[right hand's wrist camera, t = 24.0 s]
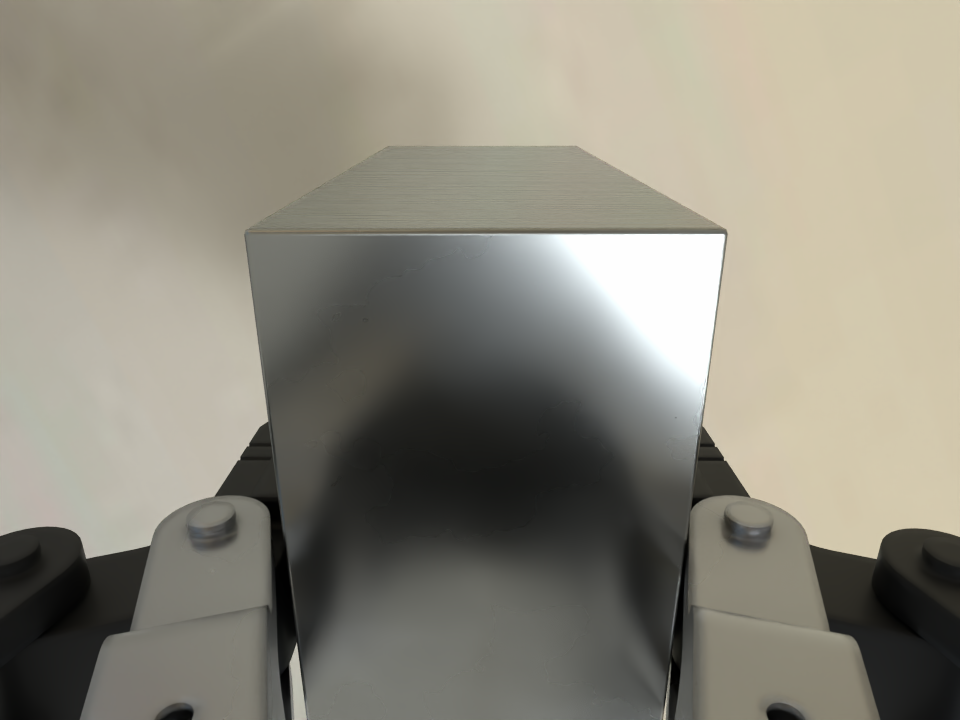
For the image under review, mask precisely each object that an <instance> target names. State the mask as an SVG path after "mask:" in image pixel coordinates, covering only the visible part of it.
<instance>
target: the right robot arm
mask: <svg viewBox="0 0 960 720" xmlns="http://www.w3.org/2000/svg"><path fill="white" fill-rule="evenodd" d="M296 643H297V638H296V630H295V623H294V615H293V607H292V599H291V592H290V584H289V576H288V568H287V561H286V553H285V545H284V537H283V530H282V522H281V514H280V506H279V499H278V491H277V483H276V475H275V468H274V460H273V452H272V444H271V437H270V429H269V421H268V422H267V423H265V424H264V425H262V426H261V427H260V428H259V429H258V431H257V432H256V434H255V435H254V437H253V438H252V440H251V442H250V443H249V447H247V448H246V449H245V451H244V452H243V454H242V455H241V459H240V460H238V461H237V463H236V464H235V466H234V468H233V469H232V471H231V472H230V474H229V475H228V477H227V478H226V480H225V481H224V483H223V484H222V486H221V487H220V489H219V490H218V492H217V494H216V495H215V497H211V498H206V499H202V500H199V501H196V502H193V503H190V504H188V505H186V506H184V507H181V508H179V509H178V510H176V511H174V512H173V513H171V514H170V515H169V516H167V517H166V518H165V519H164V520H163V521H162V522H161V523H160V524H159V525H158V527H157V528H156V529H155V532H154V534H153V538H152V542H151V545H150V546H147V547H143V548H139V549H134V550H129V551H124V552H119V553H114V554H109V555H104V556H99V557H94V558H88V559H86V557H85V553H84V549H83V545H82V542H81V539H80V537H79V536H78V535H77V534H76V533H75V532H73V531H71V530H68V529H65V528H59V527H36V528H30V529H24V530H20V531H16V532H12V533H9V534H6V535H3V536H0V720H294V707H293V688H292V675H291V668H290V660H291V658H292V655H293V652H294V649H295V646H296ZM666 720H960V537H958V536H955V535H951V534H948V533H944V532H940V531H934V530H928V529H901V530H897V531H894V532H891V533H889V534H888V535H886V536H885V537H884V538H883V540H882V543H881V546H880V550H879V553H878V557H877V559H873V558H868V557H862V556H857V555H852V554H847V553H842V552H837V551H832V550H827V549H823V548H819V547H816V546H813V545H810V544H809V542H808V538H807V534H806V532H805V529H804V528H803V527H802V525H801V524H800V523H799V522H798V521H797V520H796V519H795V518H794V517H793V516H791V515H790V514H789V513H787V512H786V511H784V510H782V509H781V508H779V507H776V506H774V505H772V504H770V503H767V502H764V501H761V500H758V499H754V498H750V496H749V495H748V493H747V492H746V490H745V489H744V487H743V486H742V484H741V483H740V481H739V480H738V478H737V476H736V475H735V473H734V472H733V470H732V469H731V467H730V466H729V464H728V463H727V461H724V457H723V455H722V454H721V452H720V451H719V449H718V448H717V447H715V443H714V442H713V440H712V439H711V437H710V436H709V434H708V433H707V431H706V430H705V428H704V427H702V430H701V438H700V445H699V453H698V460H697V468H696V475H695V483H694V490H693V498H692V505H691V513H690V520H689V528H688V535H687V543H686V550H685V558H684V565H683V573H682V580H681V588H680V595H679V603H678V610H677V618H676V625H675V633H674V640H673V648H672V655H671V663H670V670H669V678H668V687H667V706H666Z"/></svg>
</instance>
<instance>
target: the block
mask: <svg viewBox="0 0 960 720" xmlns="http://www.w3.org/2000/svg"><path fill="white" fill-rule="evenodd" d="M244 235H245V243H246V251H247V259H248V266H249V274H250V282H251V290H252V297H253V305H254V313H255V321H256V328H257V336H258V344H259V352H260V359H261V367H262V375H263V383H264V390H265V398H266V406H267V414H268V421H269V429H270V437H271V444H272V452H273V460H274V468H275V475H276V483H277V491H278V499H279V506H280V514H281V522H282V530H283V537H284V545H285V553H286V561H287V568H288V576H289V584H290V592H291V599H292V607H293V615H294V623H295V630H296V638H297V646H298V654H299V661H300V669H301V677H302V685H303V692H304V700H305V708H306V715H307V720H663V715H664V708H665V700H666V693H667V685H668V678H669V670H670V663H671V655H672V648H673V640H674V633H675V625H676V618H677V610H678V603H679V595H680V588H681V580H682V573H683V565H684V558H685V550H686V543H687V535H688V528H689V520H690V513H691V505H692V498H693V490H694V483H695V475H696V468H697V460H698V453H699V445H700V438H701V430H702V423H703V415H704V408H705V400H706V393H707V385H708V378H709V370H710V363H711V355H712V348H713V340H714V333H715V325H716V318H717V310H718V303H719V295H720V288H721V280H722V273H723V265H724V258H725V250H726V243H727V235H728V234H727V230H726V229H724V228H723V227H721V226H719V225H717V224H715V223H714V222H712V221H710V220H708V219H706V218H705V217H703V216H701V215H699V214H697V213H696V212H694V211H692V210H690V209H689V208H687V207H685V206H683V205H681V204H680V203H678V202H676V201H674V200H672V199H671V198H669V197H667V196H665V195H663V194H662V193H660V192H658V191H656V190H654V189H653V188H651V187H649V186H647V185H645V184H644V183H642V182H640V181H638V180H636V179H635V178H633V177H631V176H629V175H627V174H626V173H624V172H622V171H620V170H618V169H617V168H615V167H613V166H611V165H610V164H608V163H606V162H604V161H602V160H601V159H599V158H597V157H595V156H593V155H592V154H590V153H588V152H586V151H584V150H583V149H581V148H579V147H577V146H388V147H386V148H384V149H383V150H381V151H379V152H378V153H376V154H374V155H372V156H371V157H369V158H367V159H366V160H364V161H362V162H361V163H359V164H357V165H356V166H354V167H352V168H350V169H349V170H347V171H345V172H344V173H342V174H340V175H339V176H337V177H335V178H333V179H332V180H330V181H328V182H327V183H325V184H323V185H322V186H320V187H318V188H316V189H315V190H313V191H311V192H310V193H308V194H306V195H305V196H303V197H301V198H299V199H298V200H296V201H294V202H293V203H291V204H289V205H288V206H286V207H284V208H282V209H281V210H279V211H277V212H276V213H274V214H272V215H271V216H269V217H267V218H266V219H264V220H262V221H260V222H259V223H257V224H255V225H254V226H252V227H250V228H249V229H247V230H246V231H245V234H244Z"/></svg>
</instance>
